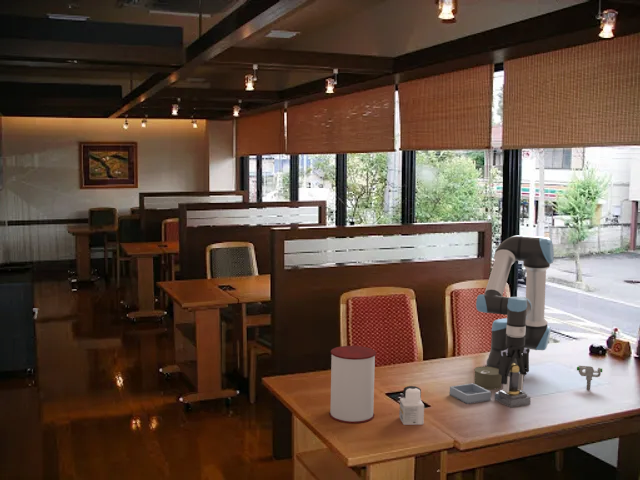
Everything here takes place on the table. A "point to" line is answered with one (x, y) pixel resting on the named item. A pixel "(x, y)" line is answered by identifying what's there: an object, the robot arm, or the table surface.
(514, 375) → the strut
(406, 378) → the table surface
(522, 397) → the recessed square block
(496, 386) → the can
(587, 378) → the mechanical component
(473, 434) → the table surface
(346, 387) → the container
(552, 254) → the robot arm
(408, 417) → the container
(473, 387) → the tray
